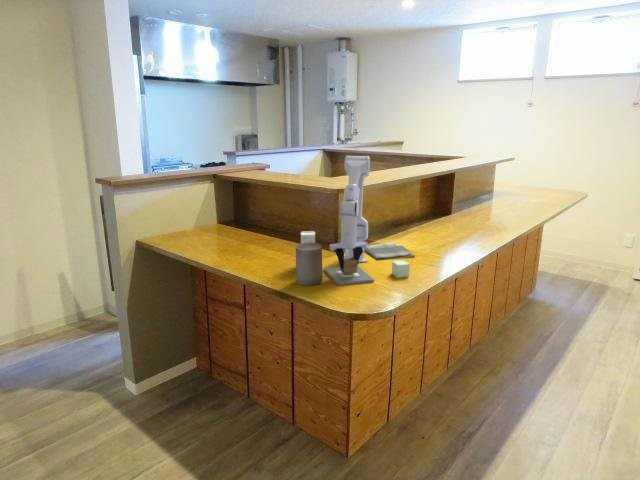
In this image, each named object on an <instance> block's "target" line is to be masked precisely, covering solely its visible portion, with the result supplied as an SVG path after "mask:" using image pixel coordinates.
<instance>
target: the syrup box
mask: <svg viewBox="0 0 640 480" xmlns="http://www.w3.org/2000/svg"><path fill="white" fill-rule="evenodd" d="M302 243H316V232H315V231H313V230H311V231H309V230H308V231H307V230H306V231H300V244H302Z"/></svg>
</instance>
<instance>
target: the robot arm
mask: <svg viewBox="0 0 640 480" xmlns="http://www.w3.org/2000/svg"><path fill="white" fill-rule="evenodd" d="M370 167H371V158H370V156H369V155H367V156H366V155H346V156H345V158H344V170H345V173H346V175H347V176H348V184H347V185H346V186H345V187H344V193H343V198H342V201H341V202H339V203H340V205H339V214H340V221H341V222H340V223H341V225H340V226H341V227H340V228H341V229H340V231H341V232H340V237H341V238H340V242H338V243H337V242H336V243H331V244H329V247H328V248H329V250H330V252H332V251H334V253H335V254H336V257H337V260H338V265H339V267H340V268H343V259H344V257H354V258H355V259H356V260H357V265H358V263H366V262H368V259H366V258H365V251H364V248H367V246H369V245H368V242H367V241H366V240H368V237H369V222H368V220H367V219H366V218H364V217H363V197H364V182H365V179H366V178H368V177H369V176H370V174H371V173H370Z"/></svg>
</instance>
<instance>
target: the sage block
mask: <svg viewBox="0 0 640 480" xmlns="http://www.w3.org/2000/svg"><path fill="white" fill-rule="evenodd" d="M410 266H411V264H410V263H408V262H407V261H405V260H397V261H396V260H394V261H393V260H392V262H391V274H392V275H393V276H394V277H396V278H397V279H398V278H406V277H407V278H408V277H410V271H411V270H410V269H411V267H410Z"/></svg>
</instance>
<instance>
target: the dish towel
mask: <svg viewBox="0 0 640 480" xmlns="http://www.w3.org/2000/svg"><path fill="white" fill-rule="evenodd" d="M365 252H366V253H367V254H368V255H370V256H371V257H372V258H373V259H375V260H376V261H383V260H385V261H386V260H398V259H399V260H400V259H411V258H415V256H416V255H415V254H414V253H413V252H412V251H410V250H409V249H408V248H406V247H405V246H404V245H400V244H396V243H394V242H393V241H392V242H388V243H380V244H372V245H367V248H364V253H365Z"/></svg>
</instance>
